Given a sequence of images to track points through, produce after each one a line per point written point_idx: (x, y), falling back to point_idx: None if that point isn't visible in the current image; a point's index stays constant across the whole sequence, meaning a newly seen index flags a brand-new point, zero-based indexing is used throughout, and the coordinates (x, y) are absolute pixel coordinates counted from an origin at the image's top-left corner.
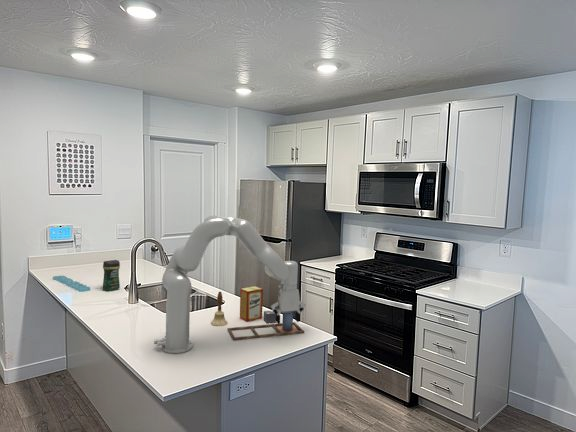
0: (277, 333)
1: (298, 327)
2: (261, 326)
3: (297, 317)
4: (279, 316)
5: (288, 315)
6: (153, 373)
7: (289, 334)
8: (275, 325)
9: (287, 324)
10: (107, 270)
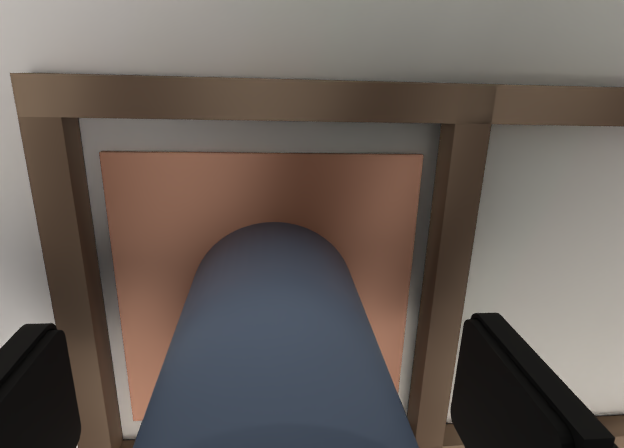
0: (537, 105)
1: (80, 279)
2: None
3: (11, 402)
4: (578, 418)
5: (323, 405)
6: None
7: (319, 80)
8: None
9: (312, 275)
10: None
